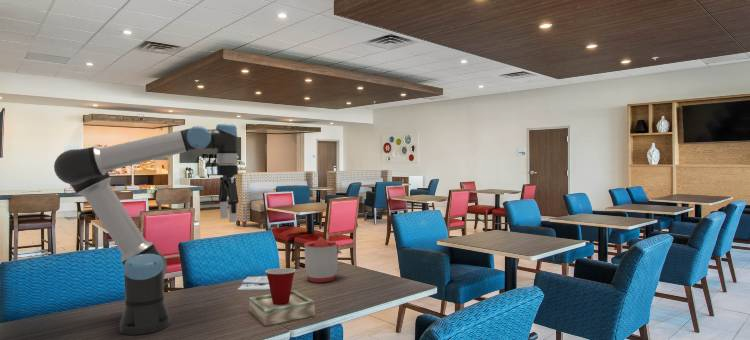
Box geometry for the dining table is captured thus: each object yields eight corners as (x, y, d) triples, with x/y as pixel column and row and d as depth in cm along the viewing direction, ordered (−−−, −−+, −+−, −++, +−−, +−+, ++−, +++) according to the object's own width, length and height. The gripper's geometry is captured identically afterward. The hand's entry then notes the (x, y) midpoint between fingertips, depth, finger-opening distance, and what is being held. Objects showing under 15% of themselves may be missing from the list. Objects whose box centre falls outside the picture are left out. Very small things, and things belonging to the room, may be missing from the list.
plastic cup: (299, 298, 170) (299, 266, 170) (291, 307, 159) (291, 273, 159) (271, 297, 171) (270, 265, 171) (261, 306, 160) (260, 272, 160)
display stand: (265, 325, 153) (265, 311, 153) (249, 311, 168) (249, 297, 168) (314, 315, 162) (314, 301, 162) (295, 302, 178) (295, 289, 178)
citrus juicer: (345, 282, 206) (344, 238, 206) (306, 285, 202) (305, 240, 201) (338, 274, 221) (338, 233, 221) (302, 277, 217) (302, 235, 216)
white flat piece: (288, 279, 215) (288, 274, 215) (278, 291, 195) (278, 286, 195) (248, 279, 216) (247, 275, 216) (233, 291, 196) (233, 286, 195)
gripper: (246, 164, 166) (247, 222, 167) (229, 164, 188) (230, 216, 188) (225, 164, 162) (226, 224, 163) (210, 164, 184) (211, 217, 184)
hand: (228, 220), depth 175 cm, fingers open, 13 cm apart
